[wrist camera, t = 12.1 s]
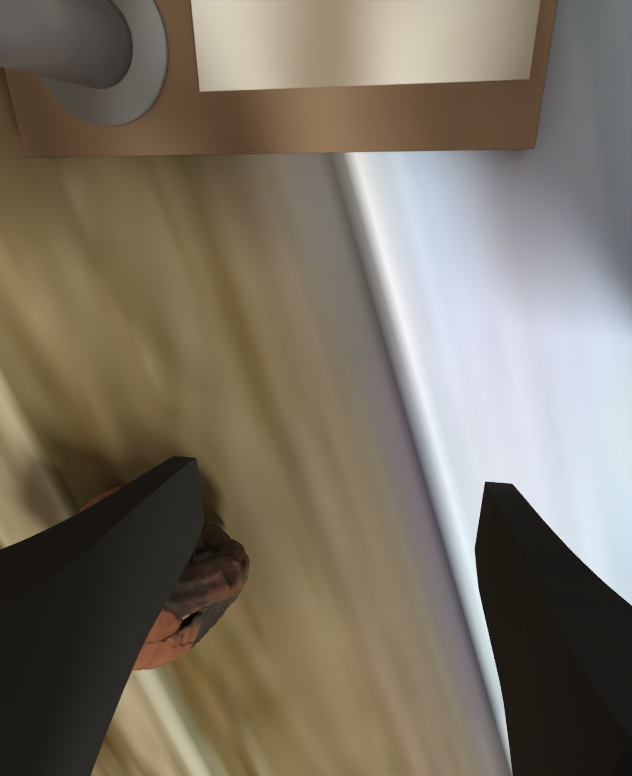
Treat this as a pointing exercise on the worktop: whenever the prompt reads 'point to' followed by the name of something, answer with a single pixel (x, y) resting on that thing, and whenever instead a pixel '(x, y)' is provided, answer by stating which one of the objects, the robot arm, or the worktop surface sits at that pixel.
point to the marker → (66, 40)
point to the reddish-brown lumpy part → (193, 595)
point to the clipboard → (303, 80)
